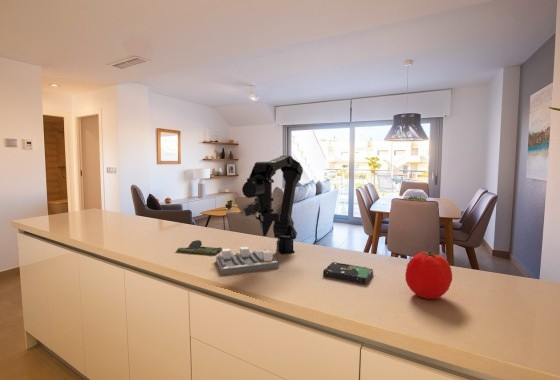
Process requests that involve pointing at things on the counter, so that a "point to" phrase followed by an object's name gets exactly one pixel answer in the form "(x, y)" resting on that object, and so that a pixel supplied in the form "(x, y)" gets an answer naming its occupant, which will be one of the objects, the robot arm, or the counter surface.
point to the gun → (199, 249)
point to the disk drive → (348, 273)
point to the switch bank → (245, 263)
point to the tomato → (428, 275)
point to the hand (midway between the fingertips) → (264, 235)
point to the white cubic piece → (267, 255)
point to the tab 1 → (226, 253)
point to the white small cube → (244, 251)
